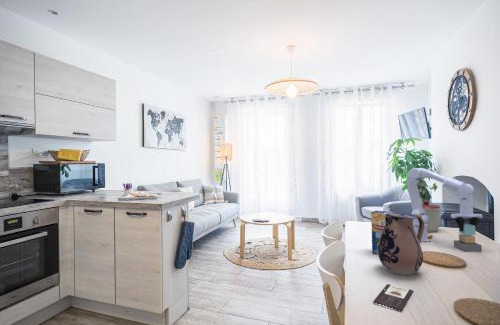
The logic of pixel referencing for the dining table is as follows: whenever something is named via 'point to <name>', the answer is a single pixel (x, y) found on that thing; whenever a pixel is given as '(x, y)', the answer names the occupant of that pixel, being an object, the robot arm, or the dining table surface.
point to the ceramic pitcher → (401, 244)
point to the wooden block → (467, 239)
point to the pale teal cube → (468, 229)
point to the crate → (468, 247)
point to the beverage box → (377, 228)
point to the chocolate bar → (393, 297)
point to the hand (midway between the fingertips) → (466, 231)
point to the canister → (432, 215)
